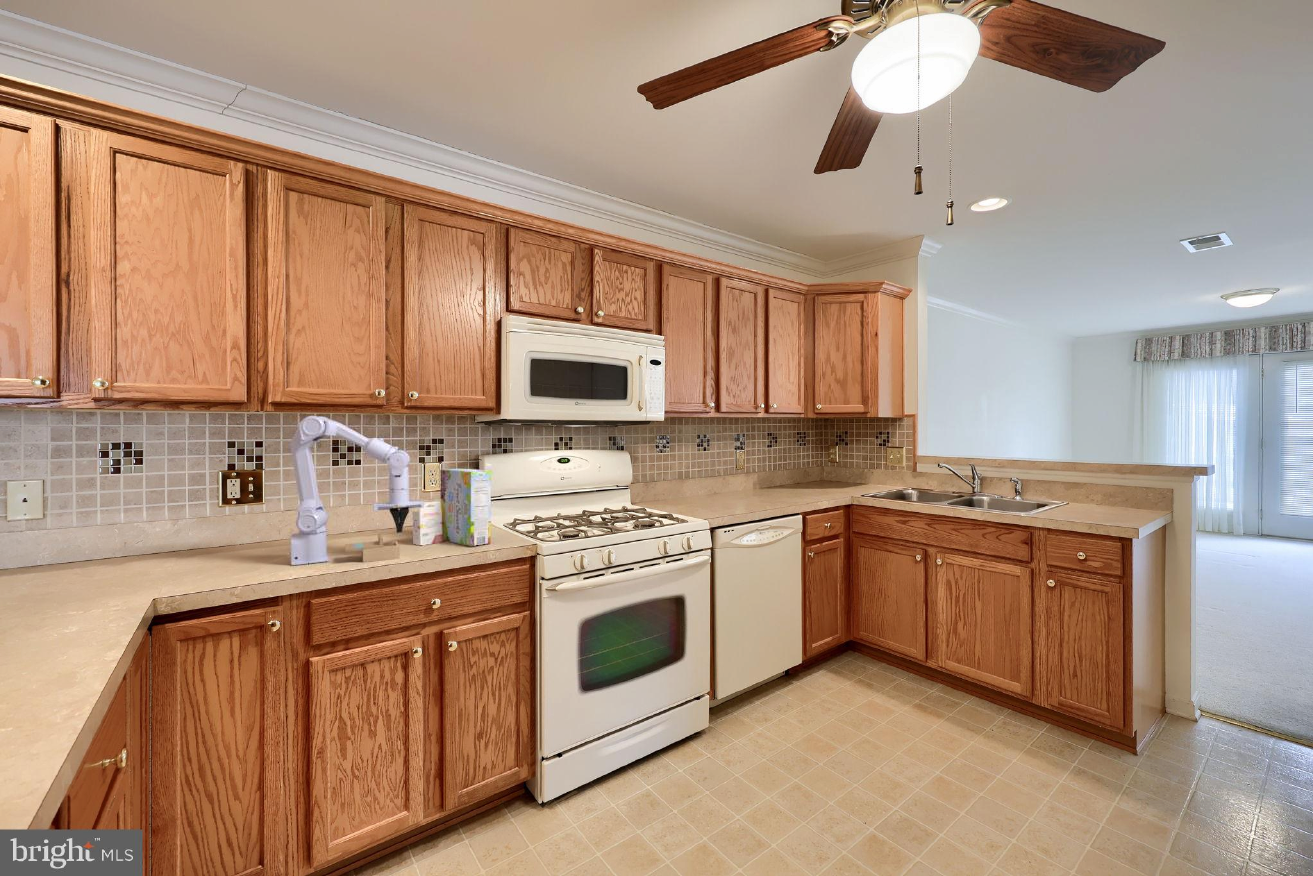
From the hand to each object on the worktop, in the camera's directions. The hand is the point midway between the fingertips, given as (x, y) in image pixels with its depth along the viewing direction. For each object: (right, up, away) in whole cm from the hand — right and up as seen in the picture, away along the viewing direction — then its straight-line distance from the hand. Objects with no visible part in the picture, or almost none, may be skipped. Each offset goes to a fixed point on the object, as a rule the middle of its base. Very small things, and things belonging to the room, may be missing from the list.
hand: (399, 531), depth 177 cm
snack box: (+14, -7, +22) cm, 27 cm away
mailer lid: (-9, -4, -5) cm, 11 cm away
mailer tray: (-5, -8, -3) cm, 9 cm away
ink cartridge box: (+1, -7, +19) cm, 21 cm away
